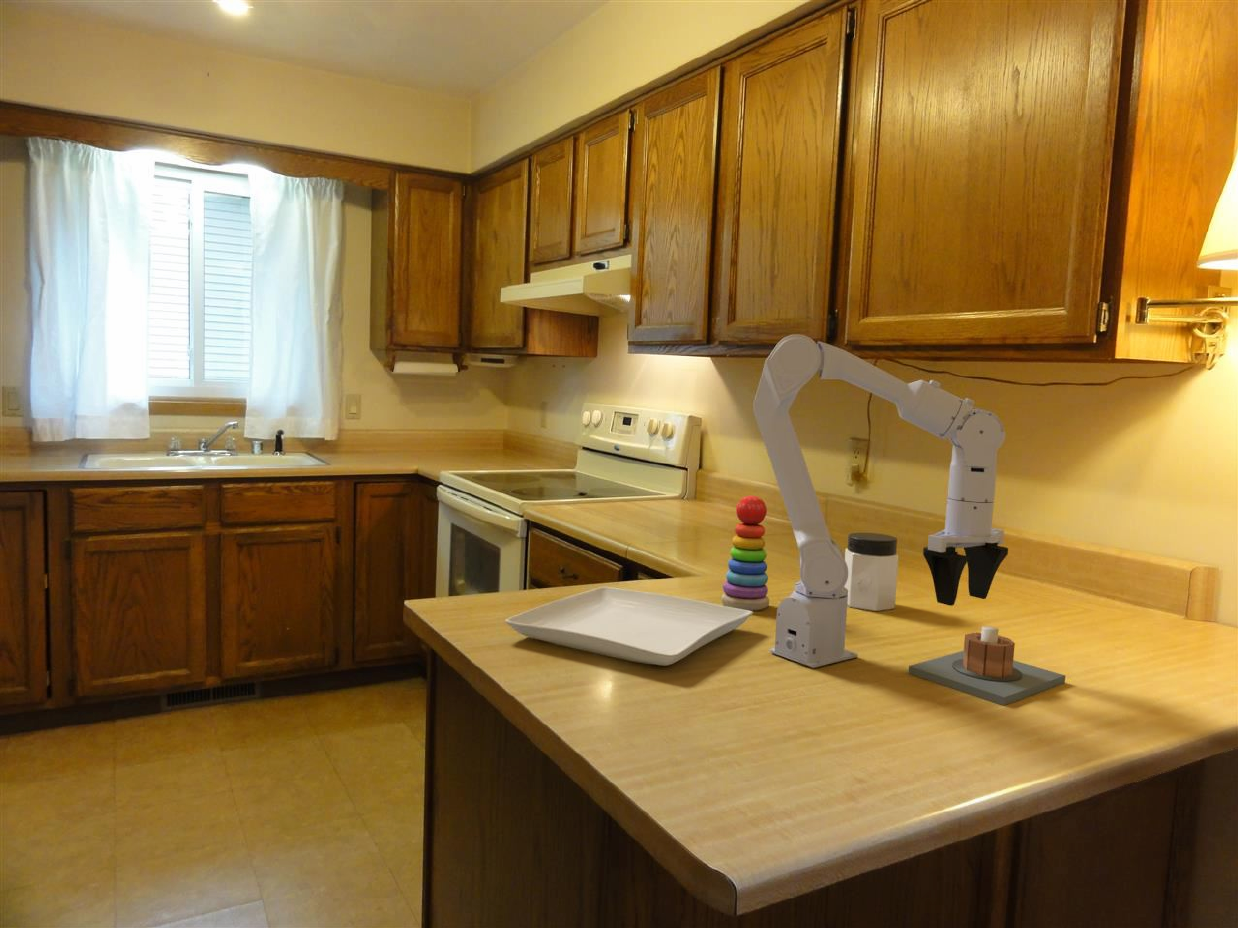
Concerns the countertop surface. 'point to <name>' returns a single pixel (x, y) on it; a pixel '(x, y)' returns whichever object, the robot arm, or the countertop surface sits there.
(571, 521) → the countertop surface
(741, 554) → the stacking toy
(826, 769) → the countertop surface
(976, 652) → the collar
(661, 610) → the square plate
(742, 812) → the countertop surface
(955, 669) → the post board
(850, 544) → the jar
